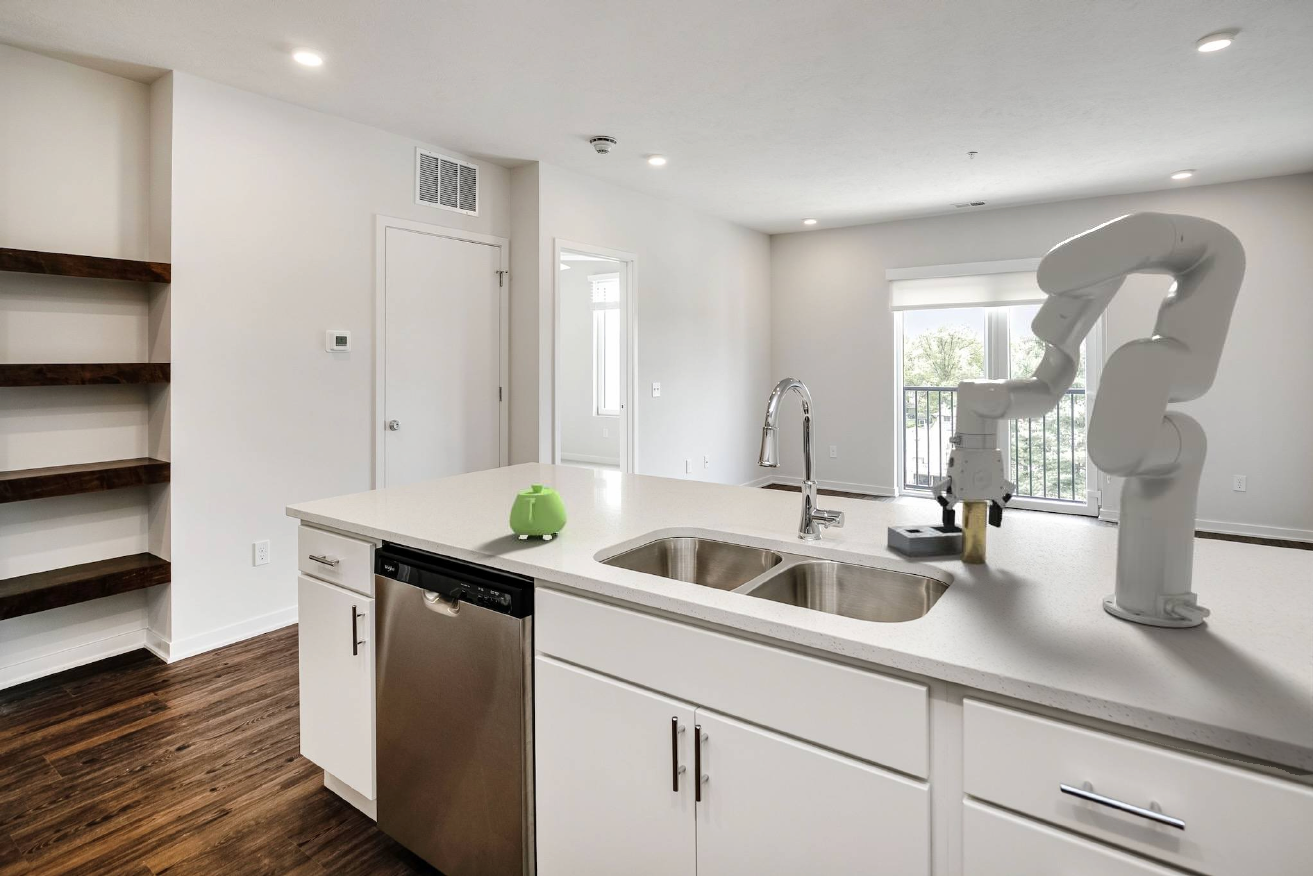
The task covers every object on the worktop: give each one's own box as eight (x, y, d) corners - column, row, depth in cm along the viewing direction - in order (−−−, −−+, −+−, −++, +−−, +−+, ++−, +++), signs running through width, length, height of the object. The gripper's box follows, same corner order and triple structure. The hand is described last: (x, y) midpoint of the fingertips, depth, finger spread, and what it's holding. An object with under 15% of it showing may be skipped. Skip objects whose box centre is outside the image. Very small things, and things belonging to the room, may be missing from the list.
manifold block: (982, 553, 142) (982, 534, 142) (909, 556, 140) (909, 537, 140) (956, 541, 152) (956, 523, 152) (887, 544, 150) (887, 526, 150)
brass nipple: (990, 563, 135) (991, 503, 134) (969, 564, 134) (970, 504, 133) (977, 557, 139) (978, 499, 138) (956, 558, 139) (958, 500, 137)
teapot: (525, 526, 176) (523, 477, 175) (576, 526, 174) (574, 477, 173) (498, 546, 156) (496, 491, 155) (555, 546, 155) (553, 491, 153)
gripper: (943, 445, 130) (940, 533, 132) (1029, 443, 132) (1024, 530, 134) (924, 440, 137) (921, 523, 139) (1005, 438, 139) (1001, 520, 141)
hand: (971, 526), depth 137 cm, fingers open, 9 cm apart
